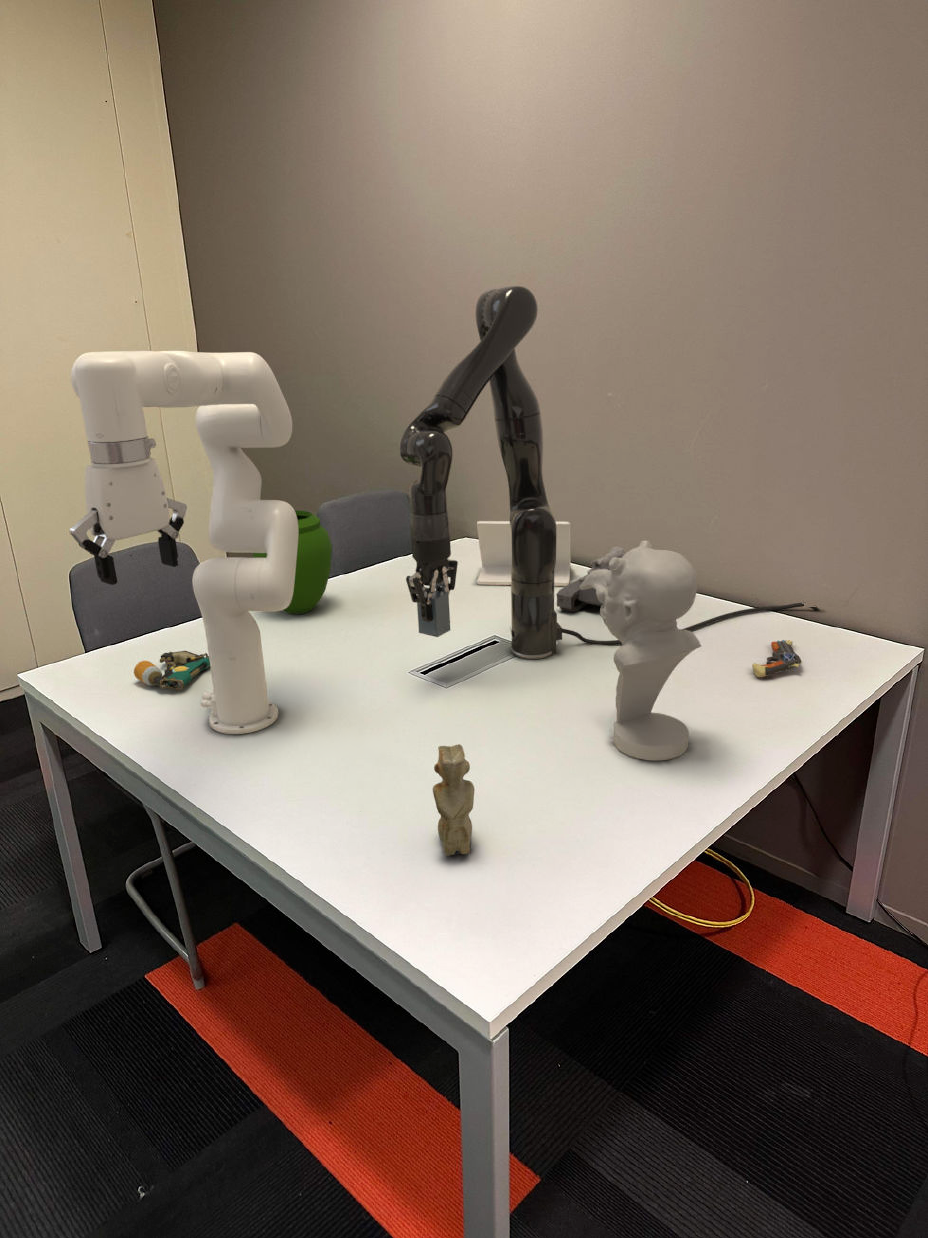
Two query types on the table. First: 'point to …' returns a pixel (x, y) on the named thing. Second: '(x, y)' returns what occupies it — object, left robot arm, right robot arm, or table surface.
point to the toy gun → (778, 659)
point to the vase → (309, 564)
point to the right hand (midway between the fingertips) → (435, 616)
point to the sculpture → (454, 800)
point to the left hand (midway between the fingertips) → (140, 573)
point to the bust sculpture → (646, 643)
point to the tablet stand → (499, 553)
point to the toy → (576, 598)
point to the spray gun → (172, 669)
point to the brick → (436, 615)
